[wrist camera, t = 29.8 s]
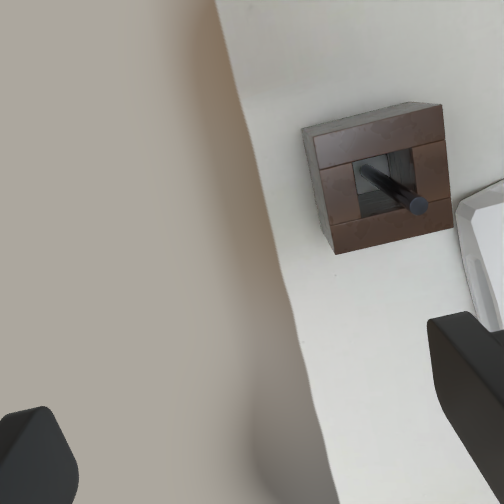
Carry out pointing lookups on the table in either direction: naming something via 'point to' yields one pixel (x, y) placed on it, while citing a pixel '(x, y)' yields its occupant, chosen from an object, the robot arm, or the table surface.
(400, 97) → the table surface
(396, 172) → the pen stand
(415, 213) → the stylus
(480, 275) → the document scanner
